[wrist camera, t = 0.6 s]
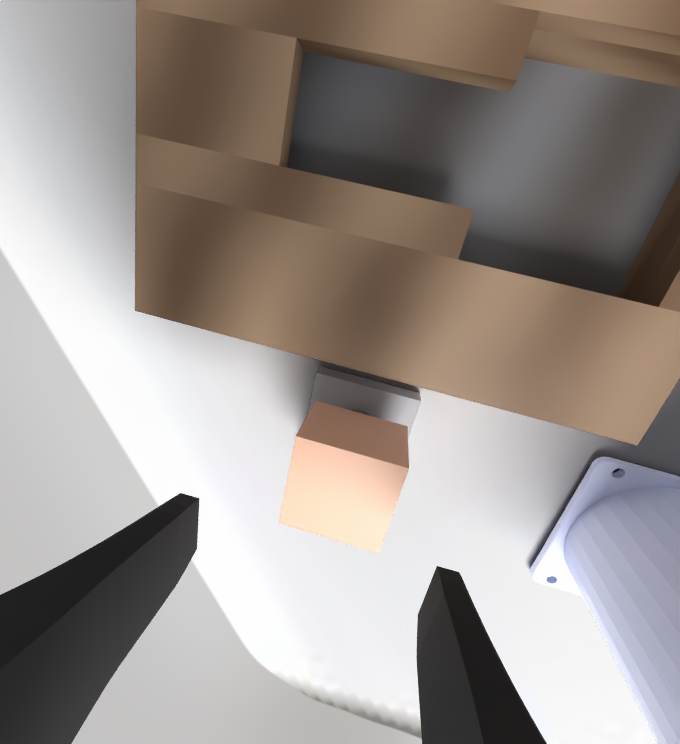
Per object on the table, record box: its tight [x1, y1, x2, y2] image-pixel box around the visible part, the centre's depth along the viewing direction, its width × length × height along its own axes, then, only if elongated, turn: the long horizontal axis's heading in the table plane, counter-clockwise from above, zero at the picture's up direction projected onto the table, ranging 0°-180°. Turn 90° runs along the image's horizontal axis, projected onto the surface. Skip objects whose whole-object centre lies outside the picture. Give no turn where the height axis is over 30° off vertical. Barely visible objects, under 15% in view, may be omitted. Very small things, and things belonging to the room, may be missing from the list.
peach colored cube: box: [278, 366, 421, 554], centre depth 15 cm, size 5×5×6 cm
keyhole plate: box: [135, 0, 680, 445], centre depth 12 cm, size 20×16×3 cm
